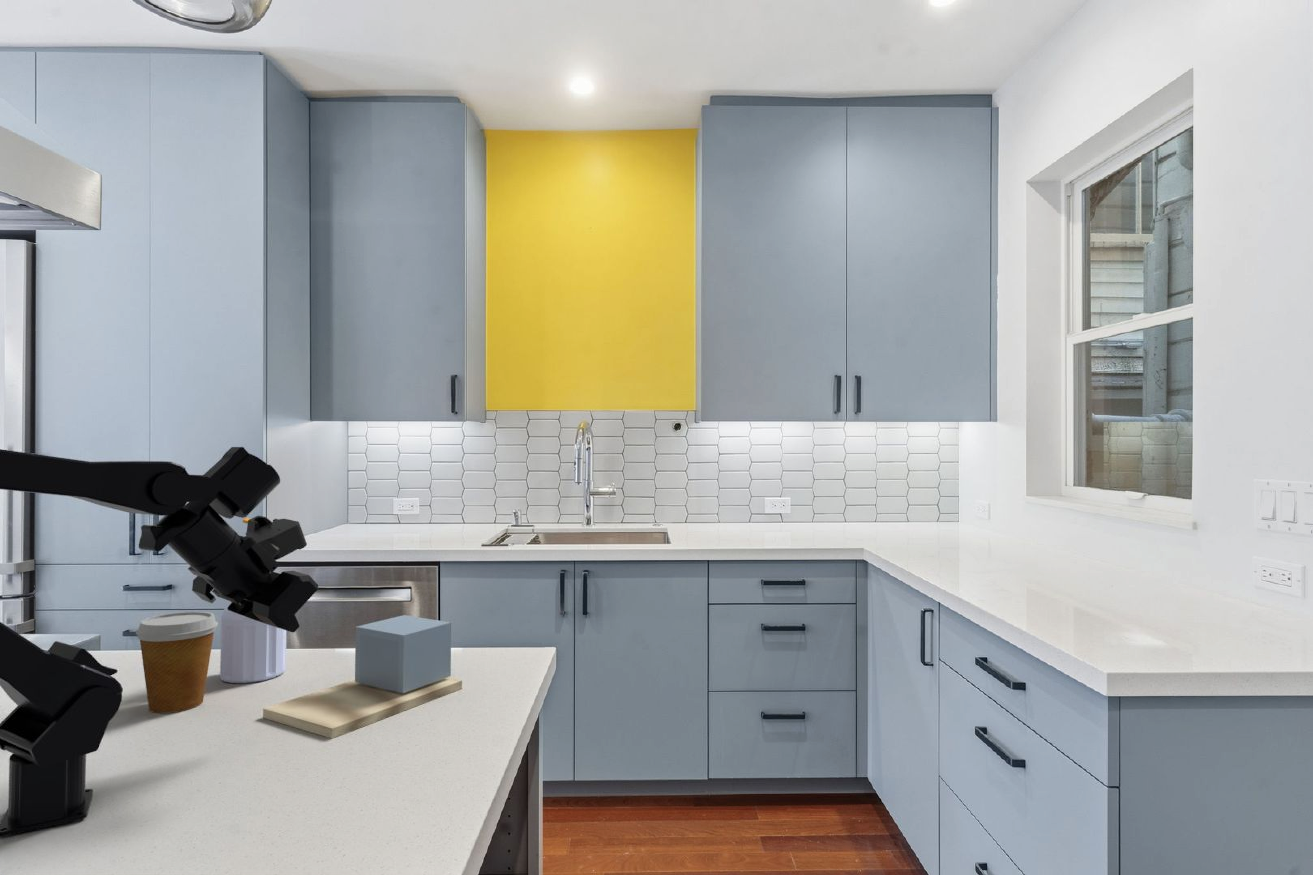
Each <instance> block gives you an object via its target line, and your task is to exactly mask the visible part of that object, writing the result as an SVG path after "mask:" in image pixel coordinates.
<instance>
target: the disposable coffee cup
mask: <svg viewBox="0 0 1313 875" xmlns="http://www.w3.org/2000/svg"><path fill="white" fill-rule="evenodd" d="M218 625H219V623H218V621H216V616H215V614H214V613H213V612H209V611H183V612H181V611H180V612H171V613H163V614H157V615H154V616H150V617H147V618H144V619H142V620H141V621H140V623H139V627H138V629H136V631H135V635H136V636H137V638H138V639H139V642H140V644H139V645H140V650H141V659H142V666H143V672H144V674H143V675H144V681H145V689H146V690H145V691H146V696H147V705H148V711H149V712H151V713H156V714H169V713H177V712H183V711H187V710H190V709H193V708H196V707H198V706H200V705H202V704H203V703H204V699H205V698H204V696H205V689H206V684H207V676H208V671H209V665H210V661H211V660H210V659H211V652H212V647H213V640H214V633H215V631H216V629H217V627H218Z"/></svg>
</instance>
